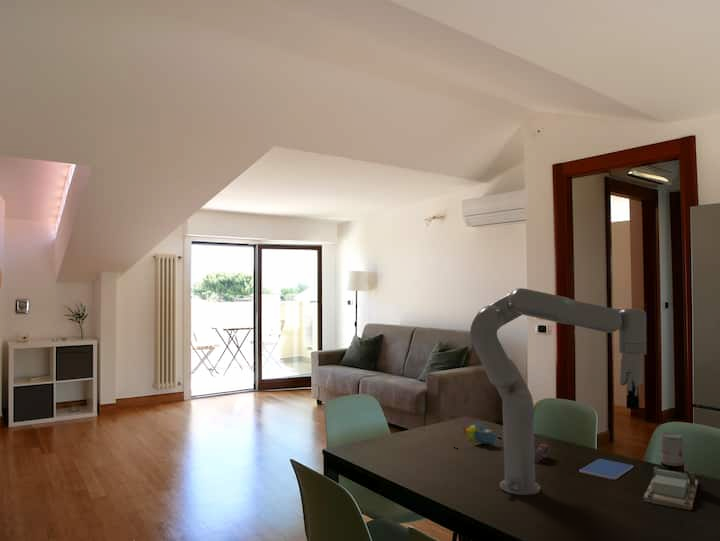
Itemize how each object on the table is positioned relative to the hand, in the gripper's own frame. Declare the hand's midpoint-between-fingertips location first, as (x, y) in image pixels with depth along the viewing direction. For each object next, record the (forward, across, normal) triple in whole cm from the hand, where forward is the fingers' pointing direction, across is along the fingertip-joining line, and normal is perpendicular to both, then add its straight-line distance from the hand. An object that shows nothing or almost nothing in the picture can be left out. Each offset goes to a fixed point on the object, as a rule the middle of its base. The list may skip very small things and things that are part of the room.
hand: (632, 408), depth 166 cm
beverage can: (+26, -19, +8) cm, 33 cm away
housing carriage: (+25, -10, +9) cm, 29 cm away
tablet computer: (+28, -25, -13) cm, 40 cm away
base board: (+27, -13, +9) cm, 31 cm away
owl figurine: (+30, -31, -64) cm, 77 cm away
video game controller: (+28, -23, -36) cm, 51 cm away
